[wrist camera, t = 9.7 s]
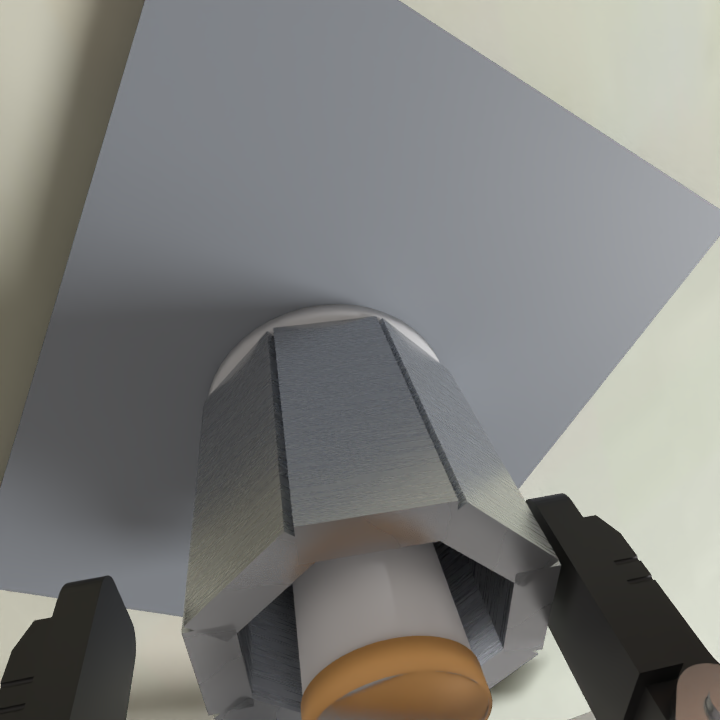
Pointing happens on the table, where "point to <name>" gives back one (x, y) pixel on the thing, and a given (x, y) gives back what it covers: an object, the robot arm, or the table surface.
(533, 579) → the grey octagonal hollow block
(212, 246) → the panel
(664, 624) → the robot arm
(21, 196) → the table surface
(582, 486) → the table surface
